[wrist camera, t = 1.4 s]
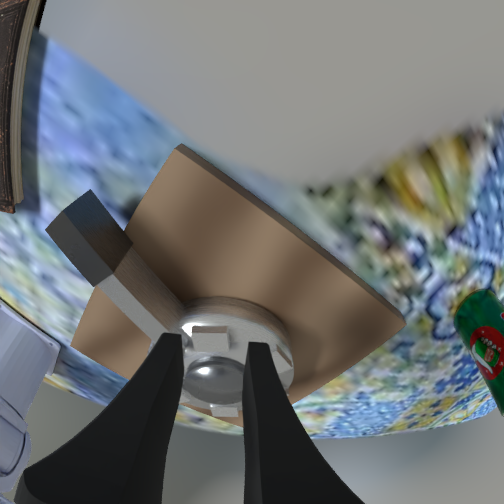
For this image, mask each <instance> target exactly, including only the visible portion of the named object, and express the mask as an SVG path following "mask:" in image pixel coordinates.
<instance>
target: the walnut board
mask: <svg viewBox="0 0 504 504" xmlns="http://www.w3.org/2000/svg"><path fill="white" fill-rule="evenodd" d="M124 232H125V233H126V235H127V236H128V237H129V238H130V240H131V241H132V242H133V245H132V246H131V247H132V248H133V249H134V250H135V251H136V253H137V254H138V255H139V256H140V257H141V258H142V260H143V261H144V262H145V263H146V264H147V265H148V267H149V268H150V269H151V270H152V271H153V272H154V273H155V274H156V276H157V277H158V278H159V279H160V280H161V281H162V282H163V283H164V285H165V286H166V287H167V288H168V289H169V290H170V291H171V292H172V293H173V294H174V295H175V297H176V298H177V299H178V300H179V301H180V302H181V303H182V302H184V301H187V300H191V299H194V298H200V297H212V296H217V297H229V298H236V299H240V300H244V301H247V302H250V303H253V304H256V305H258V306H260V307H262V308H264V309H265V310H267V311H269V312H270V313H272V314H273V315H274V316H275V317H277V318H278V319H279V320H280V321H281V323H282V324H283V325H284V327H285V328H286V330H287V332H288V334H289V337H290V341H291V349H292V357H293V366H294V377H293V381H292V383H291V385H290V386H289V395H288V396H287V397H288V399H289V401H290V403H291V405H292V404H294V403H296V402H297V401H299V400H301V399H302V398H304V397H306V396H307V395H309V394H311V393H312V392H314V391H315V390H317V389H319V388H320V387H322V386H323V385H325V384H326V383H328V382H330V381H331V380H333V379H334V378H336V377H337V376H339V375H340V374H342V373H343V372H345V371H346V370H347V369H349V368H350V367H352V366H353V365H355V364H356V363H357V362H359V361H360V360H362V359H363V358H364V357H366V356H367V355H368V354H370V353H371V352H373V351H374V350H375V349H377V348H378V347H379V346H380V345H382V344H383V343H384V342H386V341H387V340H388V339H390V338H391V337H392V336H393V335H395V334H396V333H397V332H398V331H400V330H401V329H402V328H403V327H404V326H406V325H407V324H406V322H405V320H404V318H403V316H402V314H401V312H400V311H399V310H397V309H396V308H395V307H394V306H393V305H392V304H390V303H389V302H388V301H387V300H386V299H385V298H383V297H382V296H381V295H380V294H379V293H377V292H376V291H375V290H374V289H373V288H371V287H370V286H369V285H368V284H367V283H365V282H364V281H363V280H362V279H361V278H359V277H358V276H357V275H356V274H355V273H353V272H352V271H351V270H350V269H348V268H347V267H346V266H345V265H343V264H342V263H341V262H340V261H339V260H337V259H336V258H335V257H334V256H332V255H331V254H330V253H329V252H327V251H326V250H325V249H324V248H322V247H321V246H320V245H318V244H317V243H316V242H315V241H313V240H312V239H311V238H310V237H308V236H307V235H306V234H304V233H303V232H302V231H301V230H299V229H298V228H297V227H295V226H294V225H293V224H292V223H290V222H289V221H288V220H286V219H285V218H284V217H282V216H281V215H280V214H278V213H277V212H276V211H274V210H273V209H272V208H270V207H269V206H268V205H266V204H265V203H264V202H262V201H261V200H260V199H258V198H257V197H256V196H254V195H253V194H252V193H250V192H249V191H248V190H246V189H245V188H243V187H242V186H241V185H239V184H238V183H237V182H235V181H234V180H232V179H231V178H230V177H228V176H227V175H226V174H224V173H223V172H221V171H220V170H219V169H217V168H216V167H214V166H213V165H212V164H210V163H209V162H207V161H206V160H204V159H203V158H202V157H200V156H199V155H197V154H196V153H194V152H193V151H192V150H190V149H189V148H187V147H186V146H184V145H183V144H180V145H178V146H177V147H176V148H174V150H173V151H172V153H171V154H170V156H169V157H168V159H167V160H166V162H165V163H164V165H163V166H162V168H161V170H160V171H159V173H158V174H157V176H156V177H155V179H154V181H153V182H152V184H151V185H150V187H149V189H148V190H147V192H146V193H145V195H144V197H143V198H142V200H141V202H140V203H139V205H138V207H137V209H136V210H135V212H134V214H133V215H132V217H131V219H130V221H129V223H128V224H127V226H126V228H125V230H124ZM151 341H152V339H151V338H149V337H148V336H147V335H146V334H145V333H144V332H143V331H142V330H141V329H140V328H139V327H138V326H137V325H136V324H135V323H134V322H133V321H131V320H130V319H129V318H128V317H127V316H126V315H125V314H124V313H123V312H122V311H121V310H120V309H119V308H118V307H117V306H116V305H115V304H114V303H113V302H112V300H111V299H110V298H109V297H108V296H107V295H106V294H105V293H104V292H103V291H102V290H101V289H100V288H99V287H98V286H97V285H96V286H95V289H94V291H93V293H92V295H91V297H90V299H89V302H88V304H87V306H86V308H85V311H84V313H83V315H82V318H81V320H80V322H79V325H78V327H77V330H76V332H75V334H74V337H73V340H72V342H71V345H70V346H71V347H73V348H74V349H76V350H78V351H79V352H81V353H82V354H84V355H86V356H87V357H89V358H91V359H92V360H94V361H96V362H97V363H99V364H101V365H103V366H104V367H106V368H108V369H110V370H112V371H113V372H115V373H117V374H119V375H121V376H123V377H125V378H126V379H128V380H130V379H131V378H132V376H133V375H134V374H135V372H136V371H137V370H138V368H139V367H140V366H141V364H142V363H143V362H144V360H145V359H146V357H147V353H148V350H149V347H150V344H151ZM180 404H182V405H184V406H186V407H189V408H191V409H194V410H196V411H199V412H201V413H204V414H207V415H209V416H212V417H215V418H217V419H220V420H223V421H226V422H228V423H231V424H234V425H237V426H240V427H243V413H242V410H241V411H239V413H238V417H216V416H213V415H212V412H211V410H209V409H204V408H200V407H196V406H193V405H190V404H187V403H185V402H184V403H180Z"/></svg>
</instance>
